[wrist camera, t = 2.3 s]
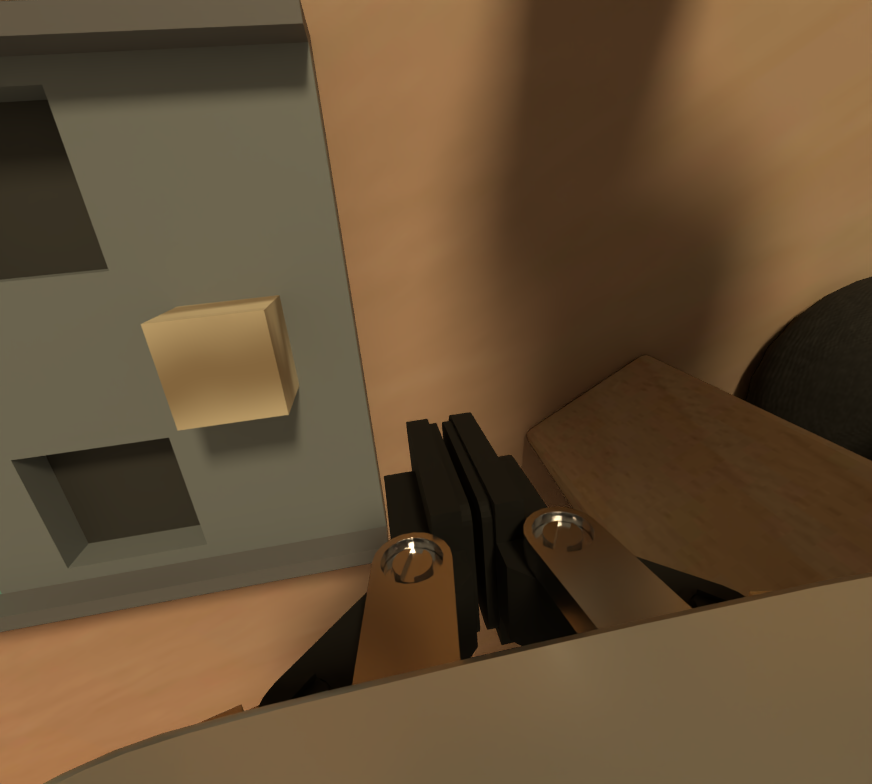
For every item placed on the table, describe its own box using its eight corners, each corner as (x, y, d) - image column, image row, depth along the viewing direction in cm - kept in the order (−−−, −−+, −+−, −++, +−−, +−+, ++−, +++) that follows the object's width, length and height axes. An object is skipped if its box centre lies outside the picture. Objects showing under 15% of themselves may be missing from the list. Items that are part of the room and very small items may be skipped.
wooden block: (581, 520, 35) (830, 860, 16) (521, 431, 31) (760, 743, 12) (691, 451, 34) (1082, 724, 16) (644, 350, 30) (1091, 556, 12)
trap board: (-458, 70, 17) (-711, 25, 13) (309, 35, 21) (297, -10, 17) (-82, 596, 28) (-158, 661, 24) (386, 515, 32) (390, 559, 27)
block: (177, 306, 22) (140, 324, 18) (279, 295, 23) (263, 309, 19) (205, 398, 24) (177, 430, 20) (299, 385, 24) (288, 414, 21)
